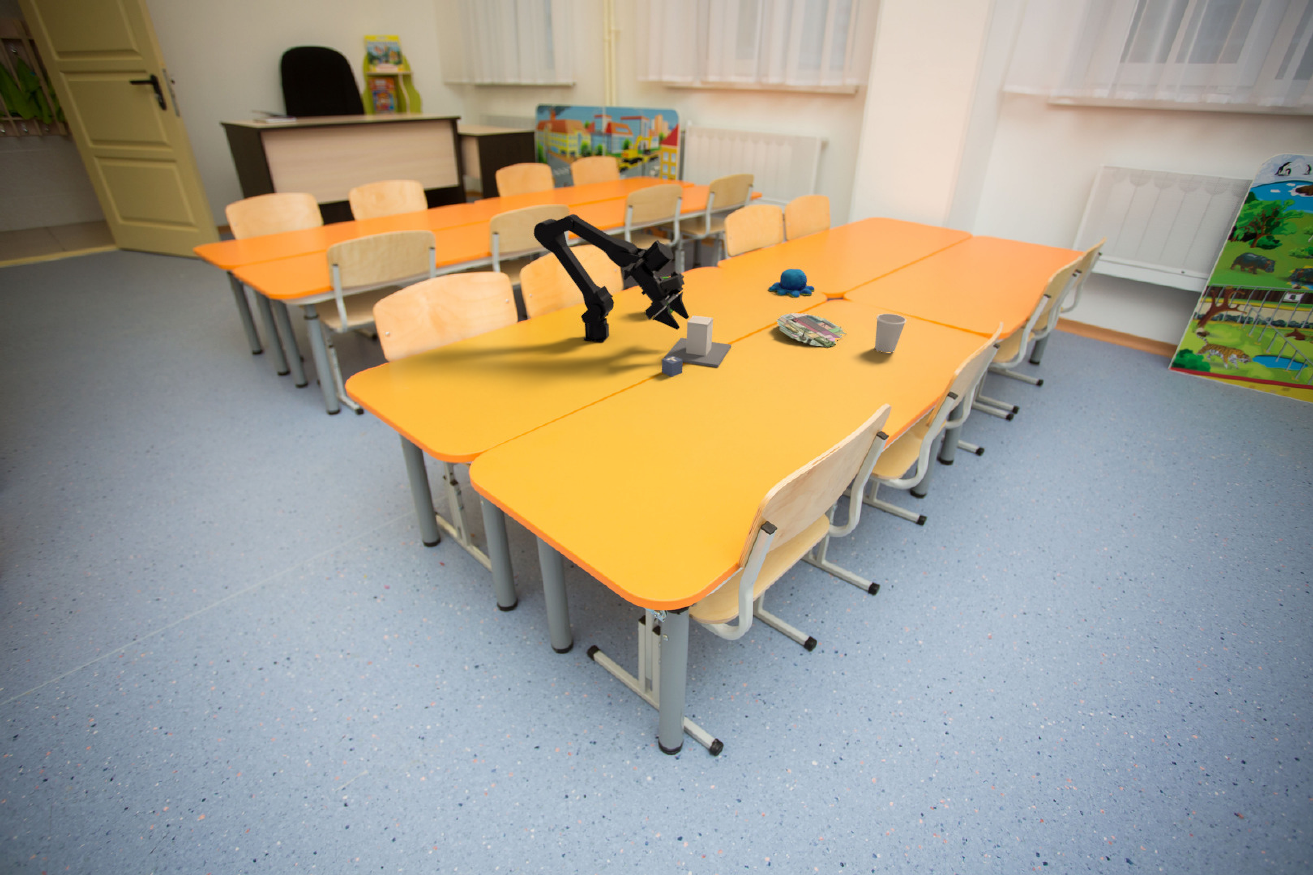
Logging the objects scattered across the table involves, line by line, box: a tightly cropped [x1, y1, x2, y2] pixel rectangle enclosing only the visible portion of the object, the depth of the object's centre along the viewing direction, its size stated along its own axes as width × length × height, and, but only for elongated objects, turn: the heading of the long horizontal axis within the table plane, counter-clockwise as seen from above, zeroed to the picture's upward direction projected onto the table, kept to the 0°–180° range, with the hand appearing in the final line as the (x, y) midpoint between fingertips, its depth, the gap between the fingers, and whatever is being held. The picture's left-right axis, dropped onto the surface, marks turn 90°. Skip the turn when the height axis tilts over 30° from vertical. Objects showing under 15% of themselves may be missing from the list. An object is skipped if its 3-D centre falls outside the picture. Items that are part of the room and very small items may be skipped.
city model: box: [776, 312, 847, 348], centre depth 193 cm, size 25×23×6 cm
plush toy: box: [768, 268, 816, 299], centre depth 232 cm, size 17×17×8 cm
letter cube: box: [661, 356, 684, 378], centre depth 167 cm, size 4×4×4 cm
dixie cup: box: [874, 313, 907, 353], centre depth 181 cm, size 8×8×10 cm
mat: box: [663, 337, 732, 368], centre depth 180 cm, size 16×16×1 cm
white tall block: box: [686, 314, 714, 356], centre depth 177 cm, size 6×6×10 cm
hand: (683, 323), depth 177 cm, fingers open, 9 cm apart
